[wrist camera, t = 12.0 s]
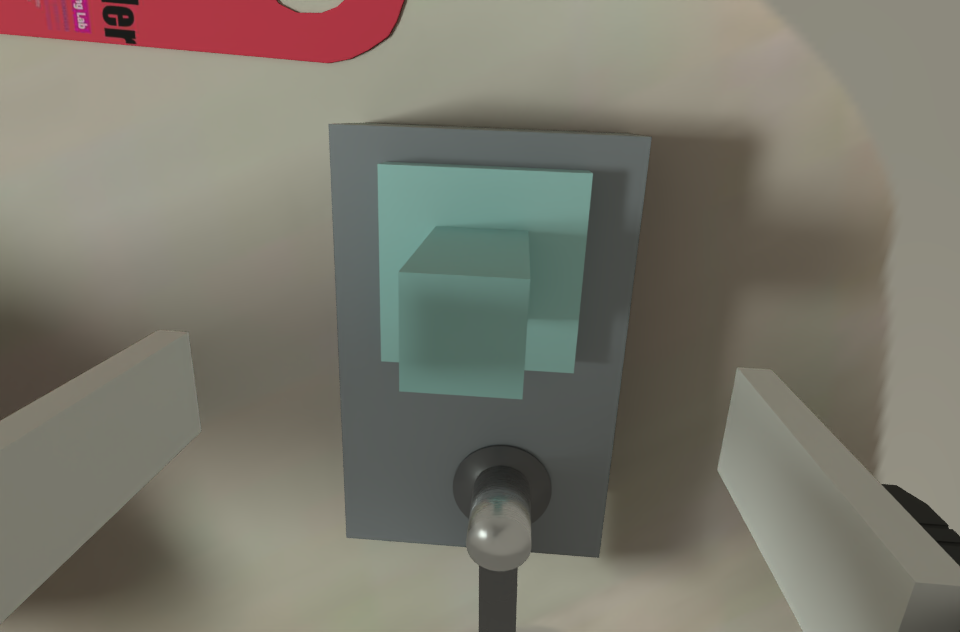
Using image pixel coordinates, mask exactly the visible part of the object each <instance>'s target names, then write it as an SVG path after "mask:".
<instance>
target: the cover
mask: <svg viewBox="0 0 960 632" xmlns="http://www.w3.org/2000/svg"><path fill="white" fill-rule="evenodd" d="M377 168H378V222H379V276H380V330H381V361H385V362H399V391H401V392H416V393H431V394H446V395H462V396H477V397H492V398H508V399H522V398H523V383H524V370H528V371H544V372H560V373H574V366H575V355H576V345H577V334H578V324H579V314H580V303H581V293H582V283H583V272H584V262H585V252H586V241H587V231H588V220H589V210H590V200H591V189H592V179H593V173H592V172H590V171H589V170H566V169H544V168H521V167H498V166H475V165H452V164H429V163H406V162H382V163H379V164H377Z"/></svg>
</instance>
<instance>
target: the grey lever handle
mask: <svg viewBox="0 0 960 632" xmlns="http://www.w3.org/2000/svg"><path fill="white" fill-rule="evenodd" d="M466 547H467V551H468V553H469V555H470V557H471V558H472V559H473V560H474V561H475V562H476V563H477V564H478V565H479V632H516V602H517V569H518V567H519V566H520V565H522V564H523V563H524V562H525V561H526V560H527V558H528V557H529V555H530V552H531V495H530V484H529V482H528V480H527V478H526V477H525V476H524V475H523V473H521V472H520V471H519V470H517V469H515V468H513V467H510V466H504V465H498V466H492V467H489V468H487V469H485V470H484V471H482V472H481V473H480V474H479V475H478V476H477V478H476V480H475V482H474V487H473V494H472V501H471V509H470V516H469V523H468V531H467V538H466Z"/></svg>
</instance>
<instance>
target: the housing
mask: <svg viewBox="0 0 960 632" xmlns="http://www.w3.org/2000/svg"><path fill="white" fill-rule="evenodd" d="M651 139H652V137H649V136H642V135H635V134H628V133H605V132H580V131H555V130H530V129H505V128H480V127H455V126H430V125H405V124H380V123H341V124H329V145H330V168H331V191H332V214H333V237H334V260H335V283H336V306H337V329H338V352H339V375H340V398H341V421H342V444H343V467H344V490H345V513H346V536H347V538H358V539H371V540H383V541H396V542H408V543H421V544H433V545H446V546H459V547H466V538H467V531H468V523H469V516H470V509H471V501H472V494H473V487H474V482H475V480H476V478H477V476H478V475H479V474H480V473H481V472H482V471H484V470H485V469H487V468H489V467H492V466H498V465H504V466H510V467H513V468H515V469H517V470H519V471H520V472H521V473H523V475H524V476H525V477H526V478H527V480H528V482H529V484H530V495H531V552H534V553H547V554H559V555H572V556H584V557H597V558H599V554H600V546H601V538H602V530H603V522H604V514H605V506H606V498H607V490H608V482H609V474H610V466H611V458H612V450H613V442H614V434H615V426H616V418H617V410H618V402H619V394H620V386H621V378H622V370H623V362H624V354H625V346H626V338H627V330H628V322H629V314H630V306H631V298H632V290H633V282H634V274H635V266H636V258H637V250H638V243H639V235H640V227H641V219H642V211H643V203H644V195H645V187H646V179H647V171H648V163H649V155H650V147H651ZM382 162H406V163H429V164H452V165H475V166H498V167H521V168H544V169H566V170H589V171H590V172H592V173H593V179H592V189H591V200H590V210H589V220H588V231H587V241H586V252H585V262H584V272H583V283H582V293H581V303H580V314H579V324H578V334H577V345H576V355H575V366H574V373H560V372H544V371H528V370H524V383H523V398H522V399H508V398H492V397H477V396H462V395H446V394H431V393H416V392H401V391H399V362H385V361H381V330H380V276H379V222H378V168H377V164H379V163H382Z"/></svg>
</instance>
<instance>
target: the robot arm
mask: <svg viewBox="0 0 960 632" xmlns="http://www.w3.org/2000/svg"><path fill="white" fill-rule="evenodd" d="M200 432H201V423H200V415H199V408H198V400H197V393H196V385H195V378H194V370H193V362H192V355H191V347H190V340H189V332H183V331H168V330H157V331H156V332H154V333H152V334H150V335H149V336H147V337H145V338H143V339H142V340H140V341H138V342H136V343H135V344H133V345H131V346H129V347H128V348H126V349H124V350H123V351H121V352H119V353H117V354H116V355H114V356H112V357H110V358H109V359H107V360H105V361H103V362H102V363H100V364H98V365H96V366H95V367H93V368H91V369H89V370H88V371H86V372H84V373H82V374H81V375H79V376H77V377H76V378H74V379H72V380H70V381H69V382H67V383H65V384H63V385H62V386H60V387H58V388H56V389H55V390H53V391H51V392H49V393H48V394H46V395H44V396H42V397H41V398H39V399H37V400H35V401H34V402H32V403H30V404H29V405H27V406H25V407H23V408H22V409H20V410H18V411H16V412H15V413H13V414H11V415H9V416H8V417H6V418H4V419H2V420H1V421H0V624H1V623H2V622H3V621H4V620H5V619H6V618H7V617H8V616H9V615H10V614H11V613H12V612H13V611H14V610H16V609H17V608H18V607H19V606H20V605H21V604H22V603H23V602H24V601H25V600H26V599H27V598H28V597H29V596H30V595H31V594H32V593H33V592H34V591H35V590H36V589H37V588H38V587H40V586H41V585H42V584H43V583H44V582H45V581H46V580H47V579H48V578H49V577H50V576H51V575H52V574H53V573H54V572H55V571H56V570H57V569H58V568H59V567H60V566H61V565H62V564H64V563H65V562H66V561H67V560H68V559H69V558H70V557H71V556H72V555H73V554H74V553H75V552H76V551H77V550H78V549H79V548H80V547H81V546H82V545H83V544H84V543H85V542H86V541H87V540H89V539H90V538H91V537H92V536H93V535H94V534H95V533H96V532H97V531H98V530H99V529H100V528H101V527H102V526H103V525H104V524H105V523H106V522H107V521H108V520H109V519H110V518H111V517H113V516H114V515H115V514H116V513H117V512H118V511H119V510H120V509H121V508H122V507H123V506H124V505H125V504H126V503H127V502H128V501H129V500H130V499H131V498H132V497H133V496H134V495H135V494H137V493H138V492H139V491H140V490H141V489H142V488H143V487H144V486H145V485H146V484H147V483H148V482H149V481H150V480H151V479H152V478H153V477H154V476H155V475H156V474H157V473H158V472H159V471H161V470H162V469H163V468H164V467H165V466H166V465H167V464H168V463H169V462H170V461H171V460H172V459H173V458H174V457H175V456H176V455H177V454H178V453H179V452H180V451H181V450H182V449H183V448H184V447H186V446H187V445H188V444H189V443H190V442H191V441H192V440H193V439H194V438H195V437H196V436H197V435H198V434H199V433H200ZM717 471H718V472H719V474H720V476H721V478H722V480H723V482H724V484H725V486H726V488H727V489H728V491H729V493H730V495H731V497H732V499H733V501H734V503H735V505H736V506H737V508H738V510H739V512H740V514H741V516H742V518H743V520H744V521H745V523H746V525H747V527H748V529H749V531H750V533H751V535H752V537H753V538H754V540H755V542H756V544H757V546H758V548H759V550H760V552H761V553H762V555H763V557H764V559H765V561H766V563H767V565H768V567H769V569H770V570H771V572H772V574H773V576H774V578H775V580H776V582H777V584H778V585H779V587H780V589H781V591H782V593H783V595H784V597H785V599H786V601H787V602H788V604H789V606H790V608H791V610H792V612H793V614H794V616H795V617H796V619H797V621H798V623H799V625H800V627H801V629H802V631H803V632H960V536H959V535H958V534H957V533H956V532H955V531H954V530H953V529H949V528H948V524H947V523H946V522H945V521H944V520H942V519H941V518H940V517H939V516H938V515H937V514H936V513H935V512H934V511H933V510H932V509H931V508H930V507H929V506H928V505H927V504H926V503H924V502H923V501H921V500H919V499H918V498H916V497H914V496H913V495H911V494H909V493H908V492H906V491H905V490H903V489H902V488H900V487H898V486H897V485H886V484H880V483H879V481H878V480H877V479H876V478H875V477H874V476H873V475H872V474H871V473H870V472H869V471H868V470H867V469H866V468H865V467H864V466H863V465H862V464H861V463H860V462H859V461H858V460H857V458H856V457H855V456H854V455H853V454H852V453H851V452H850V451H849V450H848V449H847V448H846V447H845V446H844V445H843V444H842V443H841V442H840V441H839V440H838V439H837V438H836V437H835V435H834V434H833V433H832V432H831V431H830V430H829V429H828V428H827V427H826V426H825V425H824V424H823V423H822V422H821V421H820V420H819V419H818V418H817V417H816V416H815V415H814V414H813V412H812V411H811V410H810V409H809V408H808V407H807V406H806V405H805V404H804V403H803V402H802V401H801V400H800V399H799V398H798V397H797V396H796V395H795V394H794V393H793V392H792V391H791V389H790V388H789V387H788V386H787V385H786V384H785V383H784V382H783V381H782V380H781V379H780V378H779V377H778V376H777V375H776V374H775V373H774V372H773V371H772V370H771V369H757V368H742V367H737V371H736V376H735V381H734V386H733V391H732V397H731V402H730V407H729V412H728V417H727V422H726V427H725V433H724V438H723V443H722V448H721V453H720V458H719V463H718V469H717Z"/></svg>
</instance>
